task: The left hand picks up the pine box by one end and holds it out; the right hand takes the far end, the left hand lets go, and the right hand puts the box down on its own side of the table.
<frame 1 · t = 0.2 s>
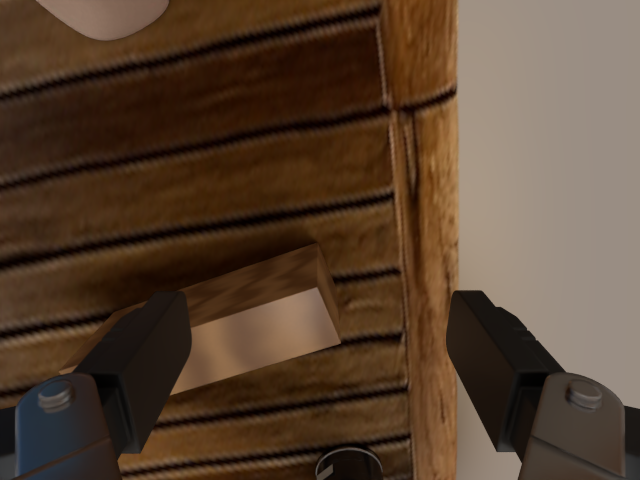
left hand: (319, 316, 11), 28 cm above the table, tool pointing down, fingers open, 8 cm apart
box: (223, 300, 43), on the table
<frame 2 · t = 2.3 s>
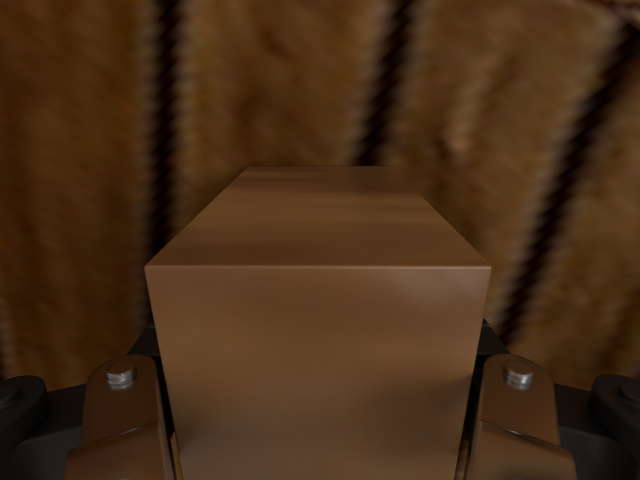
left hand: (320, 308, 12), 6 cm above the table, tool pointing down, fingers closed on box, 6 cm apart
box: (319, 399, 20), on the table, touching left hand
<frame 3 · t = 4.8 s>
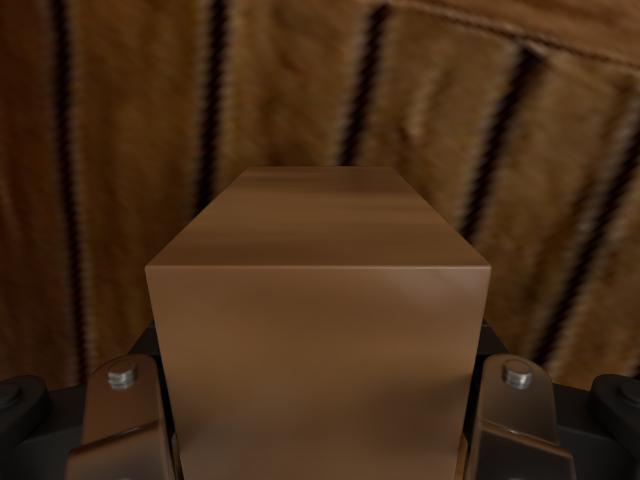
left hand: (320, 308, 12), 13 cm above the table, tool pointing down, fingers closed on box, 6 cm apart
box: (319, 399, 20), point 7 cm above the table, touching left hand
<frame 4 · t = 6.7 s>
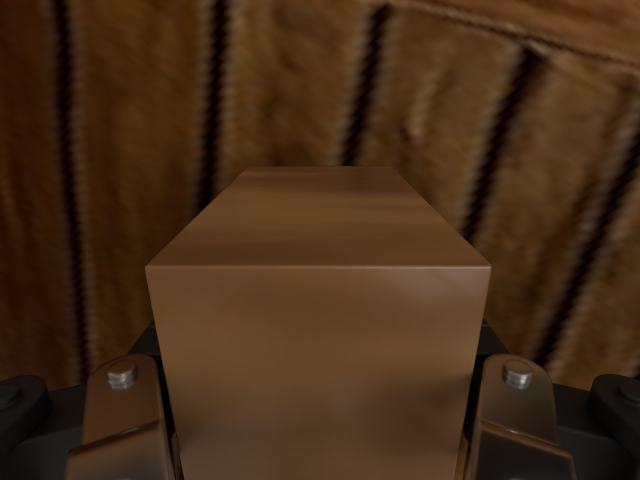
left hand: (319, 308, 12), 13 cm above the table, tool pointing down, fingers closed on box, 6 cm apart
box: (319, 398, 20), point 7 cm above the table, touching left hand, right hand
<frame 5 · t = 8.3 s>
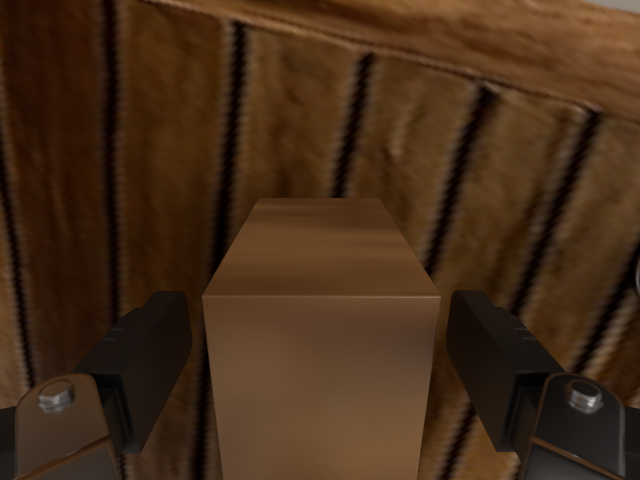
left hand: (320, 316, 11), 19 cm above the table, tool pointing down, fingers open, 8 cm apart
box: (317, 396, 23), point 10 cm above the table, touching right hand
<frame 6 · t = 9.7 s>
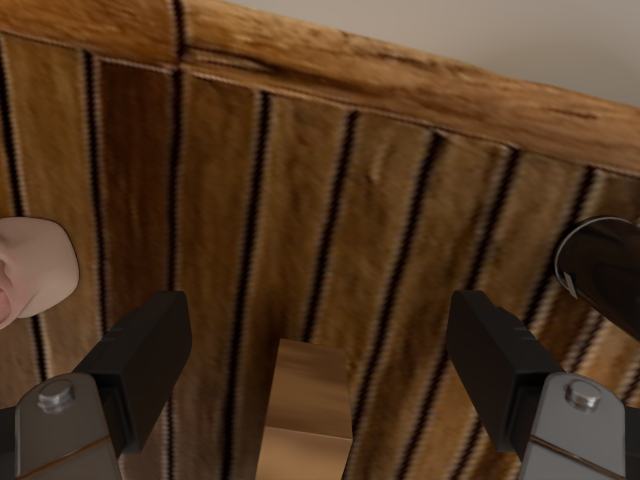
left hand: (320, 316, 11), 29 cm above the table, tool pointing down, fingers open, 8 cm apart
box: (290, 443, 39), point 10 cm above the table, touching right hand
anatomical model: (27, 265, 43), on the table
when the right hand's fingers open (2 cm above the table, at t = 13.0 s): box stays where it is, on the table.
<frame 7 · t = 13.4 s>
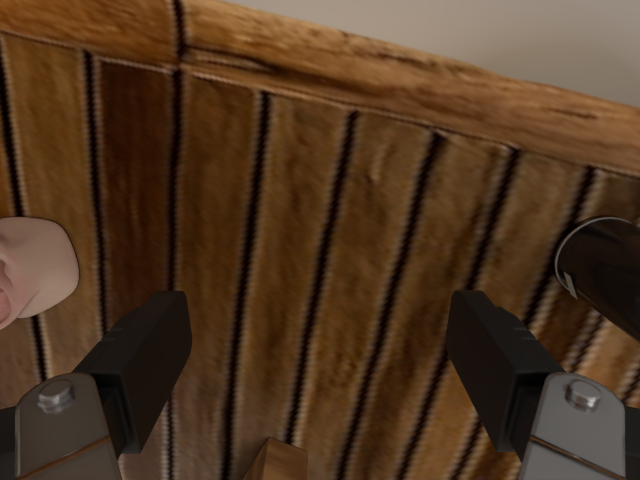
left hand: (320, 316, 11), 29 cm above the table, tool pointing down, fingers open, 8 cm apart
anatomical model: (27, 265, 43), on the table
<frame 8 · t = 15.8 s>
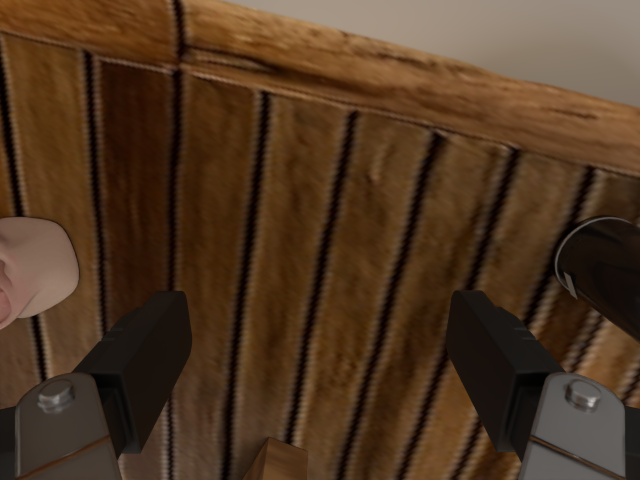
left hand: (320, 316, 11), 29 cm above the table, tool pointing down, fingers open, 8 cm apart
anatomical model: (27, 265, 43), on the table
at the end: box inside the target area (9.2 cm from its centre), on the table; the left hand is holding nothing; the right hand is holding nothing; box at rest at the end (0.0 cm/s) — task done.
